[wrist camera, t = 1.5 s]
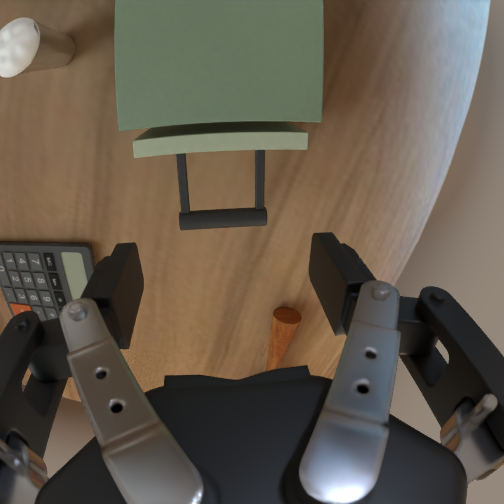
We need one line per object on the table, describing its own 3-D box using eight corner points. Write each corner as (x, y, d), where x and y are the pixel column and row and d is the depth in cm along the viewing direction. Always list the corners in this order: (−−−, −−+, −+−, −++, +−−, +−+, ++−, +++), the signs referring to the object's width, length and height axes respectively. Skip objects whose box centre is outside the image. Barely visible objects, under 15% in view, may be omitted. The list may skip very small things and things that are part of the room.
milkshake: (93, 61, 20) (37, 54, 12) (45, 81, 20) (-20, 89, 12) (87, 18, 18) (32, -4, 10) (39, 40, 18) (-25, 35, 9)
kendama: (321, 328, 33) (281, 426, 42) (299, 299, 38) (267, 398, 47) (272, 334, 31) (244, 433, 40) (254, 301, 36) (232, 403, 45)
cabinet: (290, 111, 25) (322, 122, 18) (146, 117, 24) (118, 131, 17) (290, -29, 18) (320, -66, 11) (145, -25, 17) (120, -62, 10)
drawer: (283, 200, 29) (302, 232, 23) (159, 206, 27) (146, 241, 22) (286, -5, 19) (309, -30, 13) (149, -1, 18) (129, -25, 12)
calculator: (-14, 245, 26) (87, 247, 28) (-11, 241, 27) (90, 243, 29) (13, 320, 32) (106, 331, 34) (16, 316, 33) (108, 326, 35)
